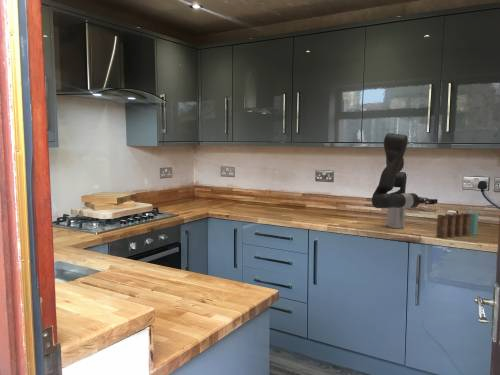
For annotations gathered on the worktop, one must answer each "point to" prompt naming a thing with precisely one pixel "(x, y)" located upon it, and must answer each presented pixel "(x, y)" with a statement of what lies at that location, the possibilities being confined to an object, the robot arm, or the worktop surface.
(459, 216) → the domino
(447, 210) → the medicine bottle
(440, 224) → the domino
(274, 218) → the worktop surface
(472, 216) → the domino
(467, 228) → the domino
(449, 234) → the domino
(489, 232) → the worktop surface
